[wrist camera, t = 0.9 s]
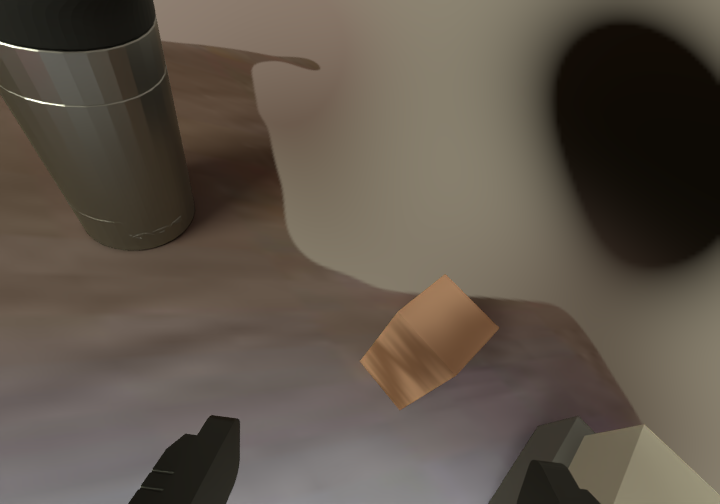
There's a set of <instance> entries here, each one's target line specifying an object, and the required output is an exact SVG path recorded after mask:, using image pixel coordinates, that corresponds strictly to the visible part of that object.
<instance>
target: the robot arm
mask: <svg viewBox="0 0 720 504" xmlns="http://www.w3.org/2000/svg"><path fill="white" fill-rule="evenodd" d="M0 95H1V96H2V98H3V99H4V101H5V103H6V104H7V106H8V107H9V109H10V110H11V112H12V114H13V115H14V117H15V118H16V120H17V122H18V123H19V125H20V126H21V128H22V130H23V131H24V133H25V134H26V136H27V138H28V139H29V141H30V142H31V144H32V146H33V147H34V149H35V150H36V152H37V154H38V155H39V157H40V158H41V160H42V162H43V163H44V165H45V166H46V168H47V170H48V171H49V173H50V174H51V176H52V178H53V179H54V181H55V182H56V184H57V186H58V187H59V189H60V190H61V192H62V193H63V195H64V197H65V199H66V200H67V202H68V203H69V205H70V207H71V208H72V210H73V211H74V213H75V214H76V216H77V218H78V219H79V221H80V222H81V224H82V225H83V227H84V229H85V230H86V232H87V233H88V234H89V235H90V236H91V237H92V238H93V239H94V240H96V241H97V242H99V243H101V244H103V245H105V246H108V247H111V248H114V249H121V250H143V249H149V248H154V247H157V246H160V245H163V244H165V243H167V242H169V241H171V240H173V239H175V238H176V237H178V236H179V235H180V234H182V233H183V232H184V231H185V230H186V228H187V227H188V226H189V225H190V223H191V221H192V219H193V216H194V211H195V208H194V200H193V195H192V190H191V185H190V180H189V175H188V170H187V165H186V160H185V155H184V150H183V145H182V140H181V135H180V130H179V126H178V121H177V116H176V111H175V106H174V101H173V96H172V91H171V86H170V82H169V77H168V72H167V67H166V63H165V58H164V53H163V48H162V43H161V39H160V34H159V29H158V24H157V19H156V15H155V8H154V4H153V0H0ZM239 461H240V421H239V419H236V418H229V417H221V416H214V415H211V416H210V417H209V418H208V419H207V420H206V422H205V424H204V425H203V427H202V428H201V430H200V432H199V433H198V435H191V434H185V435H183V436H182V437H181V438H180V439H178V440H177V441H176V442H175V443H173V444H172V445H171V446H170V447H168V448H167V449H166V450H165V452H164V453H163V455H162V456H161V458H160V459H159V460H158V462H157V463H156V465H155V466H154V468H153V470H152V472H151V473H149V475H148V476H147V478H146V479H145V480H144V482H143V483H142V485H141V488H140V490H137V492H136V493H135V495H134V496H133V498H132V499H131V500H130V502H129V503H128V504H226V502H227V500H228V498H229V495H230V493H231V491H232V488H233V486H234V483H235V480H236V477H237V473H238V468H239ZM517 504H601V503H600V502H599V501H598V500H597V499H596V498H595V497H594V496H593V495H592V494H591V493H590V492H589V491H588V490H586V489H580V488H579V487H578V485H577V483H576V481H575V480H574V478H573V476H572V474H571V473H570V471H569V469H568V468H567V467H566V466H565V465H564V464H562V463H555V462H548V461H540V460H532V461H531V462H530V464H529V466H528V469H527V472H526V475H525V478H524V481H523V484H522V487H521V490H520V493H519V496H518V499H517Z"/></svg>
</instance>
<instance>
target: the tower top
mask: <svg viewBox="0 0 720 504" xmlns="http://www.w3.org/2000/svg"><path fill="white" fill-rule="evenodd" d="M568 469H569V471H570V473H571V474H572V476H573V478H574V480H575V481H576V483H577V485H578V487H579V488H580V489H586V490H588V491H589V492H590V493H591V494H592V495H593V496H594V497H595V498H596V499H597V500H598V501H599V502H600V503H601V504H720V495H719V494H718V493H717V492H716V491H715V490H714V489H713V488H712V487H711V486H710V485H709V484H708V483H707V482H706V481H704V480H703V479H702V478H701V477H700V476H699V475H698V474H697V473H696V472H695V471H694V470H693V469H692V468H691V467H689V466H688V465H687V464H686V463H685V462H684V461H683V460H682V459H681V458H680V457H679V456H678V455H677V454H676V453H674V452H673V451H672V450H671V449H670V448H669V447H668V446H667V445H666V444H665V443H664V442H663V441H662V440H661V439H660V438H658V437H657V436H656V435H655V434H654V433H653V432H652V431H651V430H650V429H649V428H648V427H647V426H646V425H645V424H642V425H637V426H632V427H627V428H622V429H617V430H611V431H606V432H601V433H596V434H591V435H586V436H584V438H583V440H582V442H581V444H580V446H579V448H578V450H577V452H576V454H575V456H574V458H573V460H572V462H571V464H570V466H569V468H568Z"/></svg>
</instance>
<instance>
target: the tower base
mask: <svg viewBox="0 0 720 504" xmlns="http://www.w3.org/2000/svg"><path fill="white" fill-rule="evenodd" d="M591 434H596V433H595V432H594V431H593V430H592V429H591V428H590V427H589V426H588V425H587V424H586V423H585V422H584V421H583V420H582V419H581V418H580V417H579V416H575V417H571V418H568V419H564V420H560V421H556V422H552V423H548V424H544V425H541V426H538V427H537V429H536V430H535V432H534V433H533V435H532V436H531V438H530V439H529V441H528V443H527V444H526V446H525V447H524V449H523V450H522V452H521V453H520V455H519V457H518V458H517V460H516V461H515V463H514V464H513V466H512V468H511V469H510V471H509V472H508V474H507V475H506V477H505V478H504V480H503V482H502V483H501V485H500V486H499V488H498V489H497V491H496V493H495V494H494V496H493V497H492V499H491V500H490V502H489V503H488V504H517V499H518V496H519V493H520V490H521V487H522V484H523V481H524V478H525V475H526V472H527V469H528V466H529V464H530V462H531V461H532V460H540V461H548V462H555V463H562V464H564V465H565V466H566V467H567V468H569V466H570V464H571V462H572V460H573V458H574V456H575V454H576V452H577V450H578V448H579V446H580V444H581V442H582V440H583V438H584V436H586V435H591Z"/></svg>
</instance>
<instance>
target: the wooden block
mask: <svg viewBox="0 0 720 504" xmlns="http://www.w3.org/2000/svg"><path fill="white" fill-rule="evenodd" d="M498 329H499V327H498V326H497V325H496V324H495V323H494V322H493V321H492V320H491V319H490V318H489V317H488V316H487V315H486V314H485V313H484V312H483V311H482V310H481V309H480V308H479V307H478V306H477V305H476V304H475V303H474V302H473V301H472V300H471V299H470V298H469V297H468V296H467V295H466V294H465V293H463V291H462V290H461V289H460V288H459V287H458V286H457V285H456V284H455V283H454V282H452V280H451V279H450V278H449V277H448V276H447V275H446V274H445V275H443V276H442V277H441V278H440V279H438V280H437V281H436V282H434V283H433V284H432V285H431V286H430V287H428V288H427V289H426V290H424V291H423V292H422V293H421V294H419V295H418V296H417V297H416V298H414V299H413V300H412V301H411V302H409V303H408V304H407V305H406V306H404V307H403V308H402V309H401V310H399V311H398V312H397V313H396V315H395V316H394V317H393V319H392V320H391V321H390V323H389V324H388V325H387V327H386V328H385V329H384V331H383V332H382V333H381V334H380V336H379V337H378V338H377V340H376V341H375V342H374V344H373V345H372V346H371V348H370V349H369V350H368V351H367V353H366V354H365V355H364V357H363V358H362V359H361V361H360V362H361V363H362V364H363V366H364V367H365V368H366V369H367V371H368V372H369V373H370V374H371V376H372V377H373V378H374V379H375V380H376V382H377V383H378V384H379V385H380V387H381V388H382V389H383V390H384V392H385V393H386V394H387V395H388V396H389V398H390V399H391V400H392V401H393V403H394V404H395V405H396V406H397V407H398V409H399V410H401V409H402V408H404V407H406V406H407V405H409V404H411V403H412V402H414V401H415V400H417V399H419V398H420V397H422V396H424V395H425V394H427V393H429V392H430V391H432V390H433V389H435V388H437V387H438V386H440V385H442V384H443V383H445V382H446V381H448V380H450V379H451V378H453V377H455V376H456V375H457V374H458V373H459V372H460V371H461V370H462V368H463V367H464V366H465V365H466V364H467V363H468V362H469V361H470V360H471V359H472V358H473V357H474V355H475V354H476V353H477V352H478V351H479V350H480V349H481V348H482V347H483V346H484V345H485V344H486V342H487V341H488V340H489V339H490V338H491V337H492V336H493V335H494V334H495V333H496V332H497V330H498Z"/></svg>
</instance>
